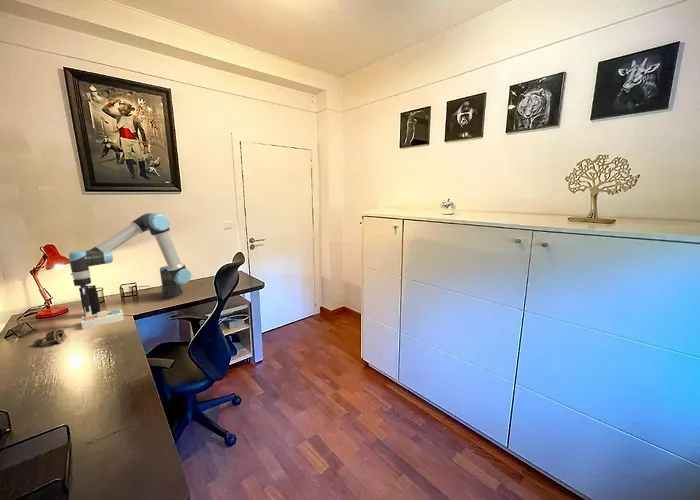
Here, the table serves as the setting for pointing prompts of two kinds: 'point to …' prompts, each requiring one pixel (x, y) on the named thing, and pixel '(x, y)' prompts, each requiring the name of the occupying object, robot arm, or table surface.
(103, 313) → the two dot button
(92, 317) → the three dot button
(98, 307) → the portable speaker
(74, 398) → the table surface
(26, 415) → the table surface
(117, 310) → the one dot button
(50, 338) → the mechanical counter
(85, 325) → the button panel
